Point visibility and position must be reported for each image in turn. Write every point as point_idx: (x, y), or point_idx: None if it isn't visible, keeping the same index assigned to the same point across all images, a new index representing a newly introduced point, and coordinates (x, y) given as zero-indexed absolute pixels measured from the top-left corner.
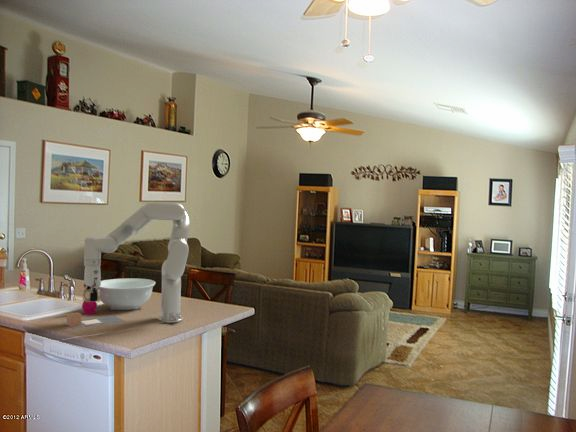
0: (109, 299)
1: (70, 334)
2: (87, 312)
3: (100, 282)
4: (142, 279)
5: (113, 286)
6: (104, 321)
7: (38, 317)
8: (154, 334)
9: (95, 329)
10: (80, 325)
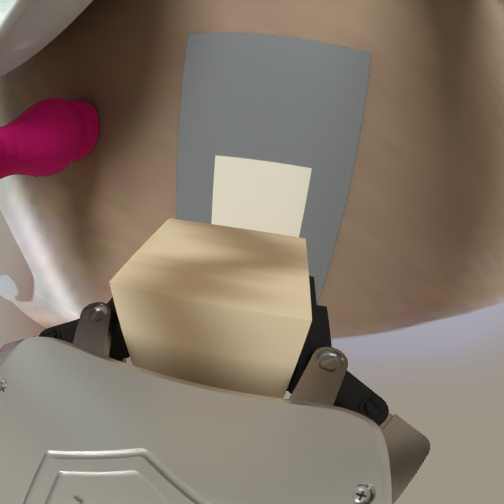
0: (53, 29)
1: (350, 333)
2: (81, 148)
3: (390, 479)
4: None
5: None
6: (296, 142)
7: (62, 288)
8: None
9: (369, 239)
10: None
